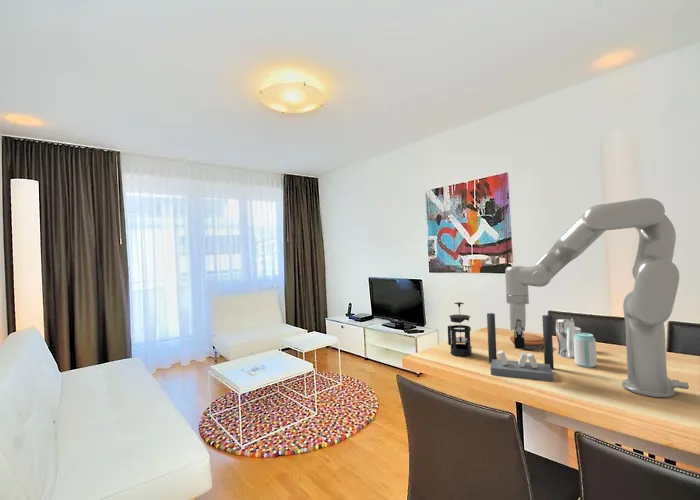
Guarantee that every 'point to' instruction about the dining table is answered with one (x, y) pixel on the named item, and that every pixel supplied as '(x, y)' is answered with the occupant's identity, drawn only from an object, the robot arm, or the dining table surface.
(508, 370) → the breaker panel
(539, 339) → the pie
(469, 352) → the french press
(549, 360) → the rod
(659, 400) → the dining table surface
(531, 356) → the paddle
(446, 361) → the dining table surface
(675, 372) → the dining table surface
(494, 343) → the rod
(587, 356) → the can
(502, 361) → the paddle
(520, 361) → the middle paddle
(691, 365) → the dining table surface
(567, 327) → the beer glass
